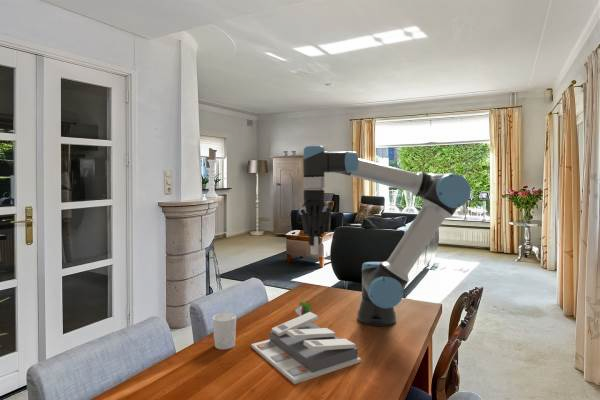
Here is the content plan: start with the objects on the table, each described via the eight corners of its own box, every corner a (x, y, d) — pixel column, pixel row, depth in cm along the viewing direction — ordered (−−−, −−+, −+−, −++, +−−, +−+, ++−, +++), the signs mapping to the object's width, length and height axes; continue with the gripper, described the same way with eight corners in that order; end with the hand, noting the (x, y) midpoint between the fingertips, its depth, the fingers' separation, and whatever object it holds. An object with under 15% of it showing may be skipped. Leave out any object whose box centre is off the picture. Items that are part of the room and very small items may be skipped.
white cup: (231, 351, 128) (231, 321, 128) (209, 349, 130) (208, 320, 129) (240, 341, 136) (239, 313, 135) (218, 339, 138) (218, 312, 137)
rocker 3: (344, 342, 125) (345, 338, 125) (354, 348, 121) (355, 344, 121) (303, 344, 117) (303, 340, 117) (312, 350, 112) (313, 346, 112)
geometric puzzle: (300, 308, 163) (296, 297, 158) (316, 310, 161) (312, 298, 156) (296, 323, 158) (291, 312, 153) (312, 325, 156) (308, 314, 151)
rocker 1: (310, 314, 142) (310, 311, 142) (318, 319, 138) (317, 315, 138) (272, 331, 134) (271, 328, 134) (279, 336, 130) (278, 333, 129)
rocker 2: (326, 331, 134) (326, 327, 134) (335, 336, 129) (335, 332, 129) (286, 333, 125) (286, 329, 125) (294, 339, 121) (295, 335, 121)
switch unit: (310, 331, 144) (310, 321, 144) (361, 361, 121) (361, 349, 120) (251, 347, 132) (251, 335, 131) (294, 384, 108) (294, 370, 108)
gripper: (322, 188, 147) (322, 250, 149) (293, 189, 140) (293, 254, 141) (334, 189, 141) (334, 253, 142) (305, 189, 134) (305, 258, 135)
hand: (314, 254), depth 142 cm, fingers closed
